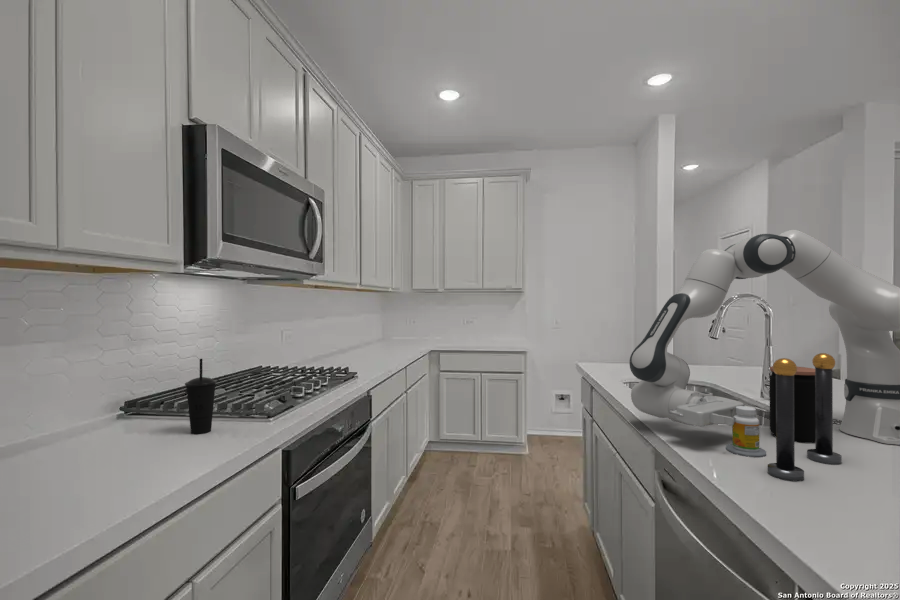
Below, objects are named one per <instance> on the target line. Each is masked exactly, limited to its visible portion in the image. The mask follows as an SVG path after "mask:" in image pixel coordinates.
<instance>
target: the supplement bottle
mask: <svg viewBox="0 0 900 600" xmlns="http://www.w3.org/2000/svg"><path fill="white" fill-rule="evenodd" d="M736 413H737V415H735V416H734V417H735V418H736V424H735V425H732V434H731V435H732V438H731V439H732V443H731V444H732V445H733V447H734V448H735V449H738V450H741V451H745V452H757V451H759V448H760V419H758V417H757V418H756V417H755V415H756V414H757V409H756V408H755V407H752V406H747V405H745V406H737V407H736Z"/></svg>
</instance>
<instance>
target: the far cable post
mask: <svg viewBox="0 0 900 600" xmlns="http://www.w3.org/2000/svg"><path fill="white" fill-rule="evenodd" d="M811 361H812V365H813V367H814V369H815V442H814V444H815V446H814V447H815V448H807V449H806V458H807V459H809V460H810V461H813V462H816V463H819V464H823V465H824V464H825V465H834V466H835V465H836V466H837V465H842V463H843V462H842V461H843V460H842V459H843V458H842V455H841V453H837V452H836V451H833V447H834V443H833V442H834V438H833V437H834V434H833V432H834V430H833V427H834V426H833V425H834V423H833V419H834V417H833V411H834V410H833V409H834V407H833V406H834V405H833V404H834V403H833V400H834V399H833V396H834V395H833V392H834V391H833V389H834V388H833V369H834V367H835V366H836V360H835V357H833V356H832V355H831V354H829V353H826V352H825V353H824V352H820V353H817V354H815V355H814V356H813V358H812V360H811Z"/></svg>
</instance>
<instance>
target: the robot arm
mask: <svg viewBox="0 0 900 600" xmlns="http://www.w3.org/2000/svg"><path fill="white" fill-rule="evenodd" d="M780 270H782V271H785V272H786V273H787V274H788V275H790V276H791V277H792V278H793V279H794V280H796V281H798V283H800V284H801V285H803V287H806V289H808V290H809V291H811V292H812V293H813V294H815V295H816V296H818V297H819V298H822V299H823V300H827V301H829V306H828V311H829V315H830V316H831V318H832V319H833V320H834V321H835V322H836V324H837V326H838V328H839V331H840V335H841V337H842V339H843V343H844V347H845V353H846V378H845V379H844V385H843V386H844V387H843V389H844V390H843V391H844V393H843V394H844V400H845V405H844V413H843V416H842V420H841V422H840V426H839V431H841V432H842V433H844V434H848V435H851V436H855V437H859V438H862V439H866V440H871V441H875V442H878V443H881V444H888V445H899V446H900V348H898V347H897V345H896V344H895V342H894V340H893V339H892V337H891V333H890V332H896V331H897V332H898V331H899V332H900V287H899V286H897V285H895V284H893V283H891V282H889V281H887V280H884V279H883V278H881V277H878V276H877V275H874V274H872V273H871V272H869V271H866V270H864V269H862V268H860V267H858V266H857V265H855V264H853V263H852V262H851V261H849V260H848V259H846V258H845V257H843V256H842V255H841V254H839V253H838V252H837V251H836V250H834V249H832V248H831V247H829V246H828V245H826V243H824V242H822V241H820V240H819V239H817V238H815V237H813V236H812V235H810V234H808V233H806V232H803V231H801V230H798V229H790V230H789V229H788V230H786V231H783V232H782V233H780V234H773V233H760V234H756V235H754V236H751V237H747V238H744V239H741V240H740V241H739V242H737V243H734V244H731V245H730V246H728V247H727V248H725V249H722V248H721V249H720V248H708V249H705V250H704V251H702V252H701V253H700V254H699V255H698V257H697V258H696V259H695V261H694V263H693V264H692V265H691V267H690V269H689V271H688V273H687V275H686V277H685V278H684V281H683V284H682V285H681V287H680V289H679V290H678V291H677V292H676V294H673V295H671V296H670V297H669V299H667V301H666V302H665V304H663V307H662V308H661V310H660V312H659V313H658V315H657V317H656V318H655V320H654V321H653V323H652V324H651V326H650V328H649V329H648V331H647V333H646V335H645V336H644V338H643V339H642V341H641V342H640V343H638V345H636V347H635V348H634V349H633V351H632V352H631V354H630V357H629V369H630V371H631V374H632V375H633V376H634V377H635V378H636V379H638V380H640V381H639V382H637V383H636V384H634V385H633V386H632V388H631V390H630V398H631V402H632V404H633V406H634V407H635V408H636V409H637V410H638V411H639V412H642V413H644V414H647V415H649V416H653V417H655V418H661V419H670V420H671V421H673V422H677V423H682V424H684V425H689V426H695V427H699V428H700V427H702V428H703V427H707V426H711V425H716V424H717V425H726V426H733V425H735V424H736V418H735V417H734V416H735V415H737V413H736V407H737V406H746V405H745V404H744V403H743V402H741V401H739V400H735V399H731V398H728V397H724V396H717V395H714V393H713V392H709V391H708V392H707V391H696V390H689V389H686V388H687V386H688V383H689V380H690V375H691V371H690V367H689V365H688V363H687V362H686V361H685V359H682V358H680V357H678V356H676V355H674V354H672V353H670V352H668V347H669V346H670V345H669V344H670V343H671V342H672V340H673V338H674V336H675V335H676V333H677V331H678V330H679V328H680V327H681V325H682V324H683V323H684V322H685V321H687V320H690V319H692V318H694V319H699V318H707V317H709V316H711V315H713V314H715V313H717V311H718V310H719V309H720V308H721V306H722V305H723V303H724V301H725V299H726V297H727V294H728V292H729V289H730V287H731V284H732V283H733V282H734V280H735V279H736V280H746V279H752V278H753V279H754V278H760V277H762V276H765V275H767V274H773V273H775V272H777V271H780ZM755 417H756V418H757V419H758V415H757V413H756V415H755Z"/></svg>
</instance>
